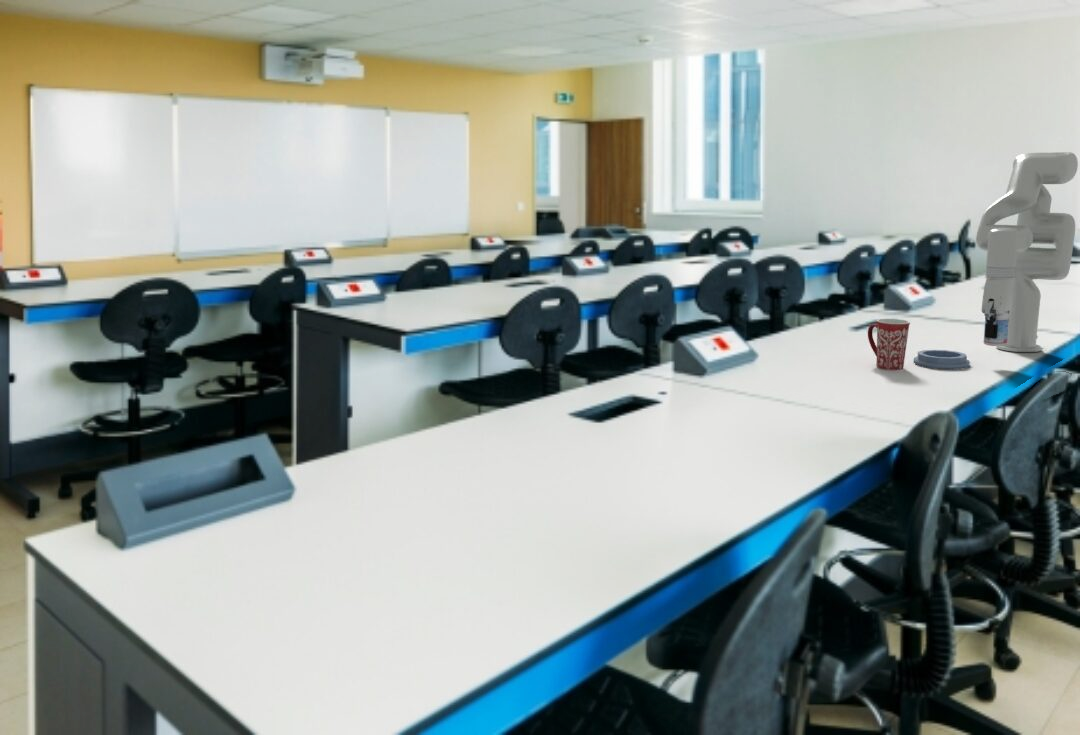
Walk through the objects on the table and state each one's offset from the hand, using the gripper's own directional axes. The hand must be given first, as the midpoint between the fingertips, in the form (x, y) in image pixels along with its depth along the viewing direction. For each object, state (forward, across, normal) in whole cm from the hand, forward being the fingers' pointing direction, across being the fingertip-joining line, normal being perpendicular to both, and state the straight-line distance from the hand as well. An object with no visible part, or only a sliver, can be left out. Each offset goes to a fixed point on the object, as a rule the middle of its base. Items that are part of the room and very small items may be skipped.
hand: (995, 335), depth 268 cm
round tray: (+9, +7, -12) cm, 16 cm away
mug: (+8, +21, -22) cm, 32 cm away
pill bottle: (+3, 0, 0) cm, 3 cm away
